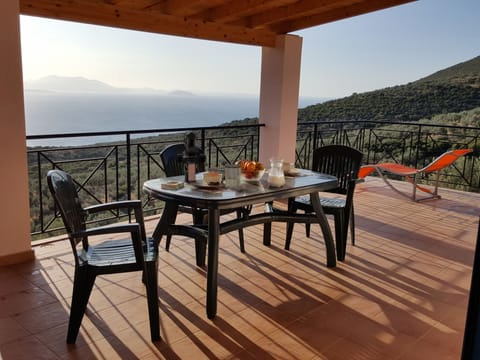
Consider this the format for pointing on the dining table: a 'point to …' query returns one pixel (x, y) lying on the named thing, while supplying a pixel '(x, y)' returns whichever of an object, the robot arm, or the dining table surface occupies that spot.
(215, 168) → the food container
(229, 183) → the coffee can
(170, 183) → the rack
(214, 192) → the dining table surface
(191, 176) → the pink tall block
